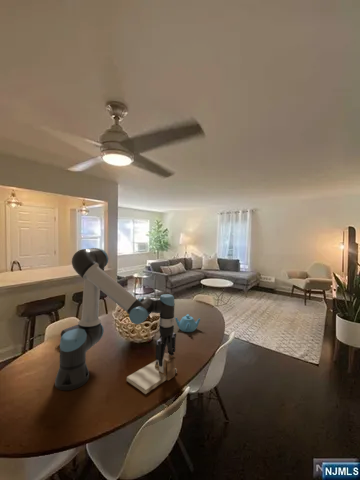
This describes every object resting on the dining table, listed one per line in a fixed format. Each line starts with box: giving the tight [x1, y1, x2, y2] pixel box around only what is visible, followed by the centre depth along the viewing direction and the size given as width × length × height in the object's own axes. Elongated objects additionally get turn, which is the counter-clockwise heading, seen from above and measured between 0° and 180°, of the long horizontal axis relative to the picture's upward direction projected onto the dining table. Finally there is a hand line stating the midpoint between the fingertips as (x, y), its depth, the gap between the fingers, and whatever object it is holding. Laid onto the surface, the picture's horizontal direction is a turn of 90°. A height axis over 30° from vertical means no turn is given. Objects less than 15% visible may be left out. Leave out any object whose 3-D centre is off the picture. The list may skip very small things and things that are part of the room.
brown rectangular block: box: [155, 352, 177, 381], centre depth 118 cm, size 5×12×10 cm, turn 50°
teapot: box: [174, 313, 201, 333], centre depth 176 cm, size 15×15×11 cm
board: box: [126, 359, 178, 395], centre depth 116 cm, size 22×14×2 cm, turn 141°
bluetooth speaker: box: [60, 324, 78, 338], centre depth 155 cm, size 23×9×10 cm, turn 143°
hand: (165, 369), depth 117 cm, fingers closed on brown rectangular block, 5 cm apart
